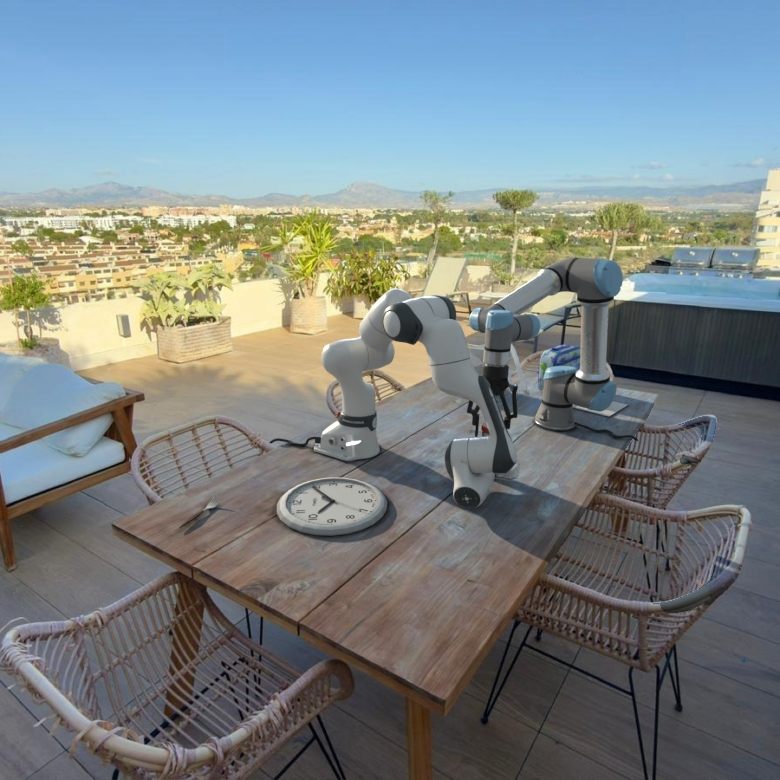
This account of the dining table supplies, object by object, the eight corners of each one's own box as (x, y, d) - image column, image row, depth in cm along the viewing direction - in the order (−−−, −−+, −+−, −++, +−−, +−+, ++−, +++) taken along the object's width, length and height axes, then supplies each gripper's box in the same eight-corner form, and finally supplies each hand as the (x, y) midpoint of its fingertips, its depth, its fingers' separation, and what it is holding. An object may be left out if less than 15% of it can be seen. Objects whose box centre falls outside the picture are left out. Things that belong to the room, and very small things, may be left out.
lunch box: (554, 397, 237) (559, 352, 231) (533, 392, 244) (538, 348, 238) (581, 386, 255) (586, 344, 248) (560, 381, 262) (565, 340, 256)
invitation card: (608, 416, 214) (573, 407, 224) (608, 416, 214) (573, 408, 224) (628, 404, 229) (594, 396, 238) (628, 405, 229) (594, 397, 238)
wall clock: (392, 527, 129) (268, 531, 127) (391, 533, 130) (269, 537, 127) (383, 473, 158) (282, 475, 155) (383, 478, 158) (282, 480, 156)
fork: (174, 529, 130) (174, 521, 130) (216, 499, 144) (215, 492, 144) (183, 531, 129) (182, 524, 129) (223, 501, 144) (223, 494, 143)
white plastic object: (461, 429, 252) (437, 405, 227) (444, 352, 274) (420, 323, 250) (535, 404, 240) (518, 377, 215) (510, 326, 262) (492, 293, 237)
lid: (486, 434, 155) (486, 429, 155) (478, 427, 160) (478, 422, 160) (503, 433, 156) (504, 427, 156) (495, 426, 162) (495, 421, 161)
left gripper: (517, 469, 145) (524, 451, 157) (446, 457, 152) (458, 440, 164) (515, 490, 147) (522, 470, 159) (445, 476, 154) (456, 458, 166)
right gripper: (532, 363, 153) (524, 436, 160) (462, 358, 158) (458, 428, 165) (532, 370, 146) (524, 445, 153) (459, 364, 151) (455, 437, 158)
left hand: (489, 454), depth 162 cm, fingers closed on jar, 5 cm apart
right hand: (490, 436), depth 159 cm, fingers open, 7 cm apart
